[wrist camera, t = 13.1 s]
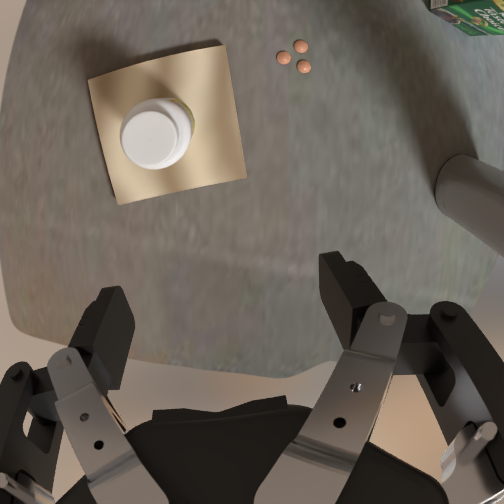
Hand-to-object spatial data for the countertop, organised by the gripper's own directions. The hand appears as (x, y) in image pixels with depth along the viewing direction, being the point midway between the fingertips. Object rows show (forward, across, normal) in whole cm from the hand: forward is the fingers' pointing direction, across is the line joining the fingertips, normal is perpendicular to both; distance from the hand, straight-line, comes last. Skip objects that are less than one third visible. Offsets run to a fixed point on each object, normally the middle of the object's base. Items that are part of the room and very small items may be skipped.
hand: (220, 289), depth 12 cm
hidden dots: (+23, -9, -10) cm, 27 cm away
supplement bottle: (+22, +4, -5) cm, 23 cm away
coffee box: (+23, -31, -18) cm, 43 cm away
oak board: (+22, +4, -5) cm, 23 cm away
